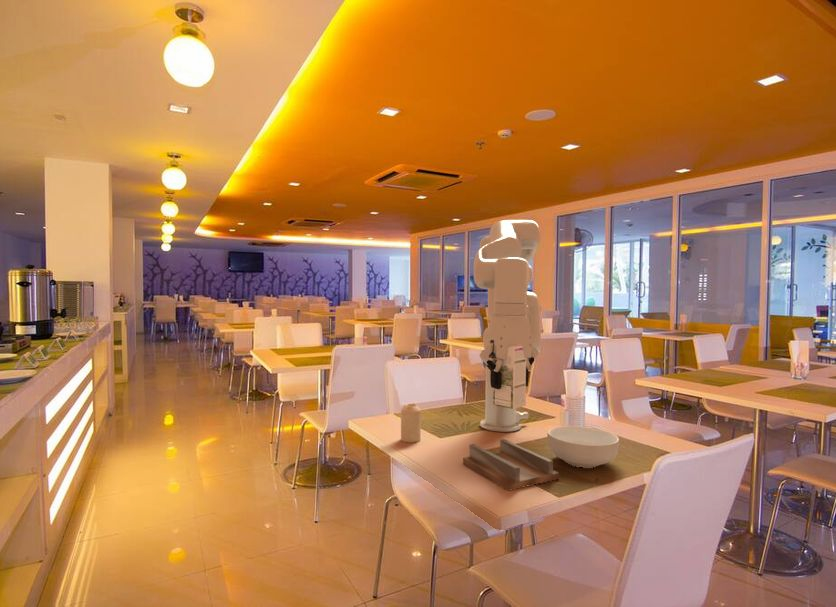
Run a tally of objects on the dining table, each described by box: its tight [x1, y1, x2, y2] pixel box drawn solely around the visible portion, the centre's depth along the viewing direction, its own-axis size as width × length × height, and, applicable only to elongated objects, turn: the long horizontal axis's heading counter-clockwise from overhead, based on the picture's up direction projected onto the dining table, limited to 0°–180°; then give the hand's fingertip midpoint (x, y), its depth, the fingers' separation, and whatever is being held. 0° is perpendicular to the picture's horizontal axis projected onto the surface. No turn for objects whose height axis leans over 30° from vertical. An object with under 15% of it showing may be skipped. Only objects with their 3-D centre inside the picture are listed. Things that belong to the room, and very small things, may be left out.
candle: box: [400, 403, 422, 444], centre depth 141 cm, size 6×6×10 cm
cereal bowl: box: [547, 425, 620, 469], centre depth 123 cm, size 17×17×7 cm
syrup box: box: [493, 345, 527, 410], centre depth 117 cm, size 6×6×14 cm
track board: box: [462, 438, 560, 491], centre depth 117 cm, size 14×18×4 cm
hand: (509, 386), depth 117 cm, fingers closed on syrup box, 7 cm apart
